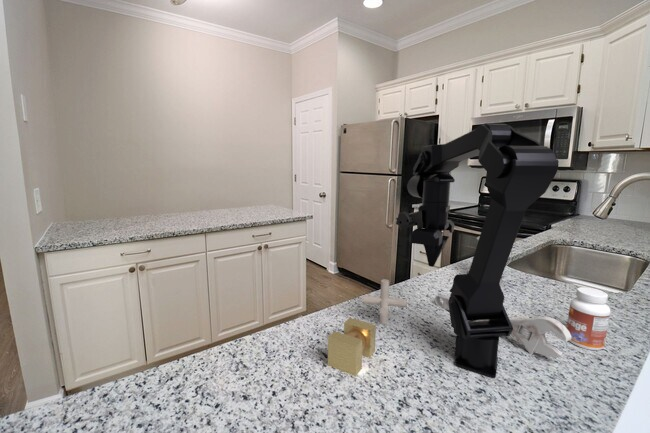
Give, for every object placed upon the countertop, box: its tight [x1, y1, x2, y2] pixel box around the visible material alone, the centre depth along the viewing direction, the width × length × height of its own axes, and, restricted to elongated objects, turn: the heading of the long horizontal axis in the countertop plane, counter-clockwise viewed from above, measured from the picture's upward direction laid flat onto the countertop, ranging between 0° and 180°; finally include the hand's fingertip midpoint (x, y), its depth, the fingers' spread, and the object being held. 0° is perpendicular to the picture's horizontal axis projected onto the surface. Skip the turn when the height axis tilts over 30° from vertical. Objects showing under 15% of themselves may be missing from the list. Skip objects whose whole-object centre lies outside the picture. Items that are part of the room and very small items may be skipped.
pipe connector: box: [361, 278, 408, 325], centre depth 70 cm, size 10×10×10 cm
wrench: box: [434, 294, 572, 358], centre depth 67 cm, size 8×2×30 cm
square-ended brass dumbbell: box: [327, 317, 377, 377], centre depth 57 cm, size 8×6×6 cm, turn 148°
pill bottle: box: [566, 286, 611, 351], centre depth 62 cm, size 6×6×11 cm
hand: (431, 266), depth 73 cm, fingers closed
